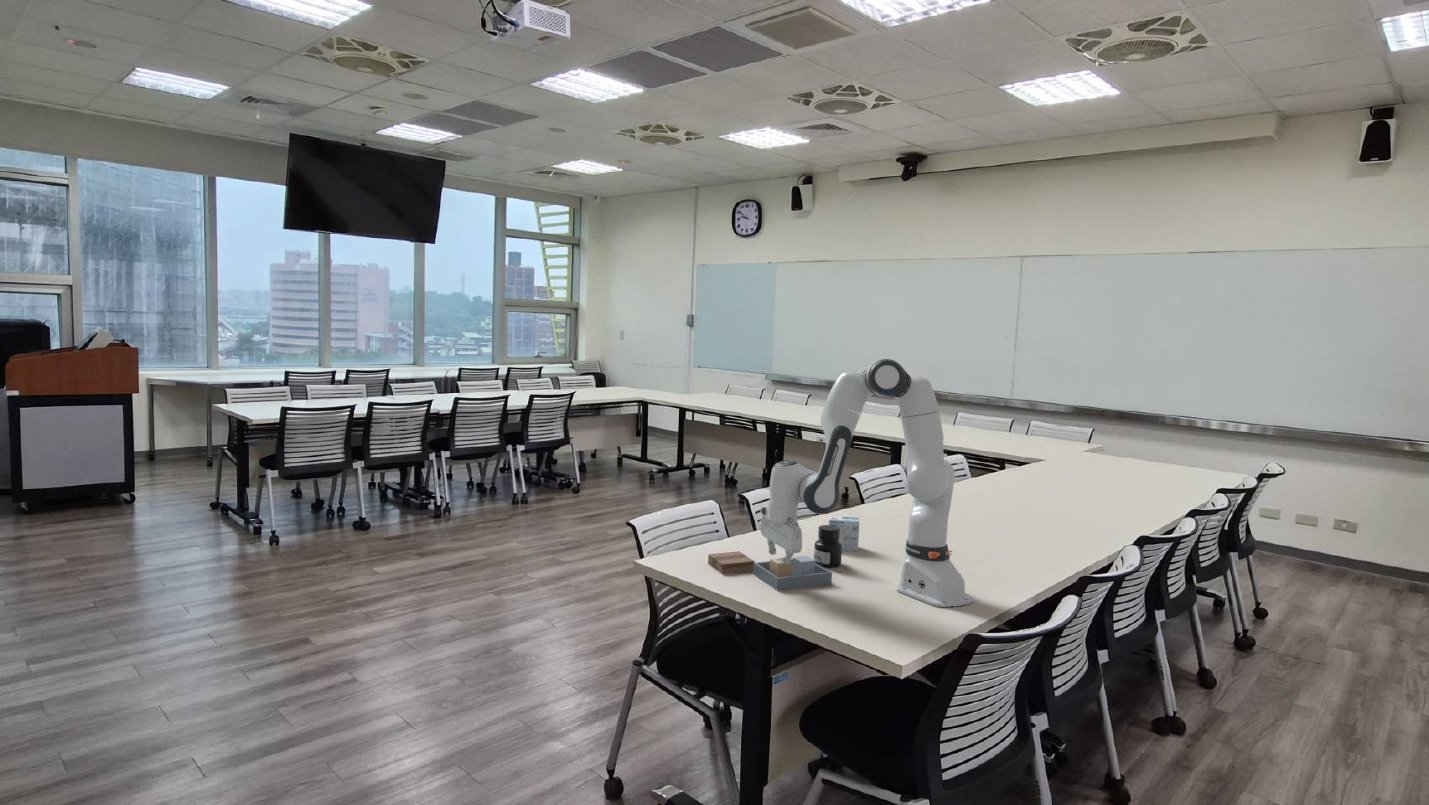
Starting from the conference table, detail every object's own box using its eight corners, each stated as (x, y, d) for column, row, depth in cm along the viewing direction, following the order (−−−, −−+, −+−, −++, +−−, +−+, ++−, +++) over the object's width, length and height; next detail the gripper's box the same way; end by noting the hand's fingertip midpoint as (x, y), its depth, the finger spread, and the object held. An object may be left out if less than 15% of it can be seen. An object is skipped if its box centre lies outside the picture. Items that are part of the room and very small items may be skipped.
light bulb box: (856, 546, 277) (858, 516, 276) (858, 551, 270) (860, 521, 269) (826, 544, 278) (828, 514, 277) (827, 549, 271) (829, 519, 270)
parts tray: (831, 584, 235) (832, 572, 235) (777, 590, 228) (777, 578, 227) (804, 568, 249) (805, 557, 249) (752, 573, 242) (753, 562, 241)
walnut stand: (754, 570, 245) (754, 561, 245) (722, 574, 240) (722, 564, 240) (738, 560, 255) (739, 551, 255) (708, 563, 250) (708, 554, 250)
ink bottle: (808, 560, 258) (810, 524, 257) (831, 558, 261) (833, 523, 260) (822, 569, 249) (824, 532, 248) (846, 567, 252) (848, 530, 251)
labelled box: (791, 582, 236) (792, 562, 235) (776, 583, 233) (777, 563, 233) (783, 577, 240) (784, 557, 239) (768, 578, 238) (769, 558, 237)
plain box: (814, 579, 239) (815, 560, 238) (800, 581, 237) (801, 562, 236) (805, 574, 243) (806, 555, 243) (791, 576, 241) (792, 557, 241)
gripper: (809, 522, 227) (805, 568, 228) (776, 505, 245) (773, 548, 247) (789, 523, 224) (786, 570, 226) (758, 506, 243) (755, 549, 245)
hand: (779, 558), depth 237 cm, fingers open, 8 cm apart
